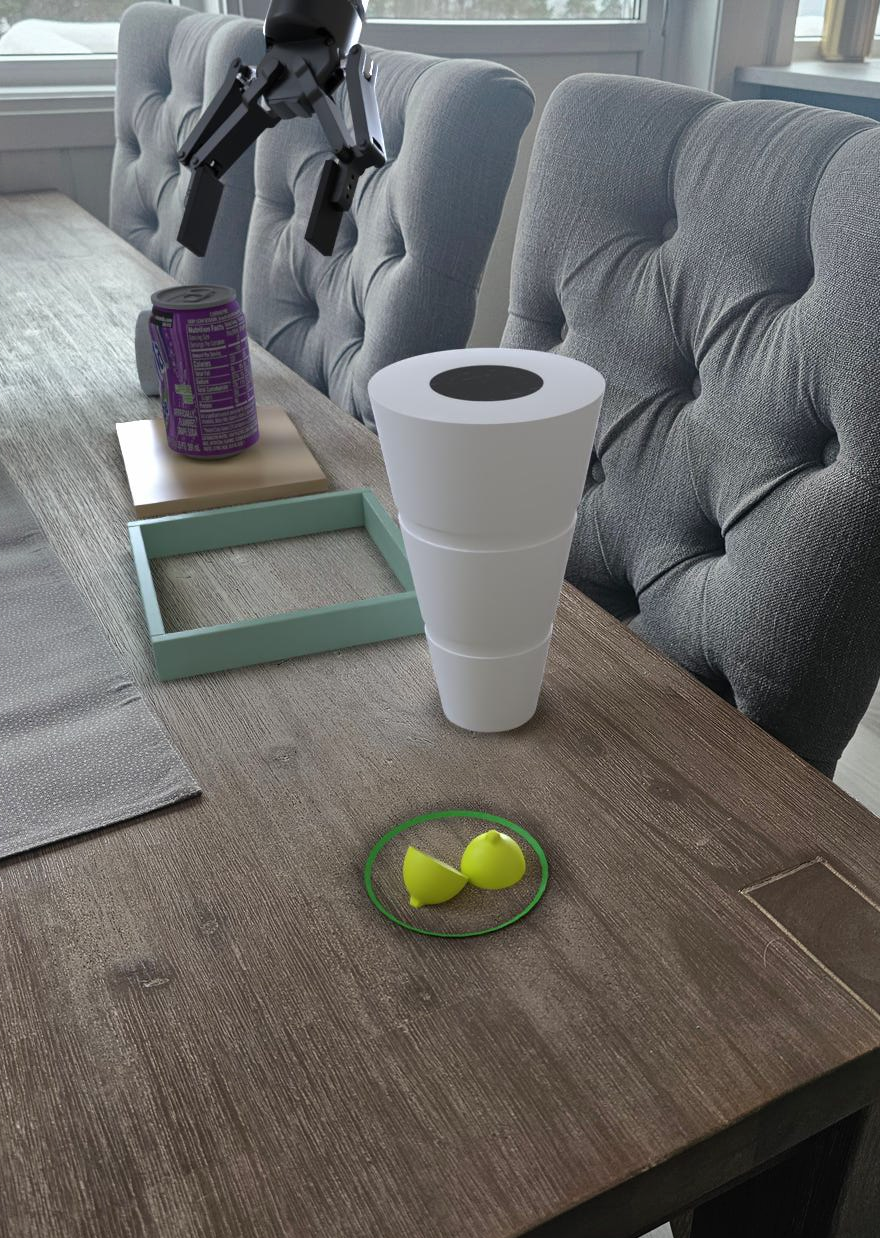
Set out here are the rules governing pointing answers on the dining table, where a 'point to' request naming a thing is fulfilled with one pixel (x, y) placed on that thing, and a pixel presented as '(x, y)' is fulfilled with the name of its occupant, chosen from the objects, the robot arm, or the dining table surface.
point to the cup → (487, 511)
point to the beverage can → (203, 371)
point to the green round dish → (482, 865)
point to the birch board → (216, 468)
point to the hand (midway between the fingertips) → (251, 248)
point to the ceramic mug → (145, 355)
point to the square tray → (281, 631)
